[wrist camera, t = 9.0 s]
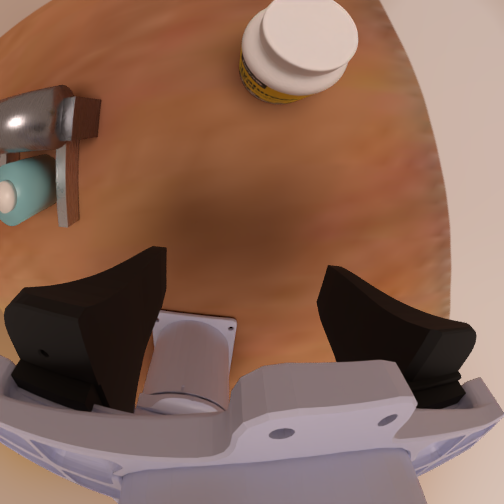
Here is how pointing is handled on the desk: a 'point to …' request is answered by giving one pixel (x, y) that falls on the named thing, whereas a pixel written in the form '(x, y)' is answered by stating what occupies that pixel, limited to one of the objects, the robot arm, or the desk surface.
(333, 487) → the robot arm
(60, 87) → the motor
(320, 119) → the desk surface
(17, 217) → the teal cylinder
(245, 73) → the supplement bottle
